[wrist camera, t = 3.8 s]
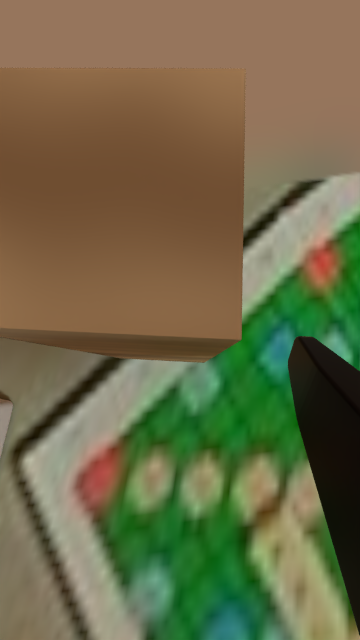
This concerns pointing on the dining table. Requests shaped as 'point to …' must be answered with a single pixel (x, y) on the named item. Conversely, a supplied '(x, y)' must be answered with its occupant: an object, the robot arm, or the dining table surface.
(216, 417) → the dining table surface
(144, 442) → the dining table surface
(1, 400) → the medicine bottle
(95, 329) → the wood block
